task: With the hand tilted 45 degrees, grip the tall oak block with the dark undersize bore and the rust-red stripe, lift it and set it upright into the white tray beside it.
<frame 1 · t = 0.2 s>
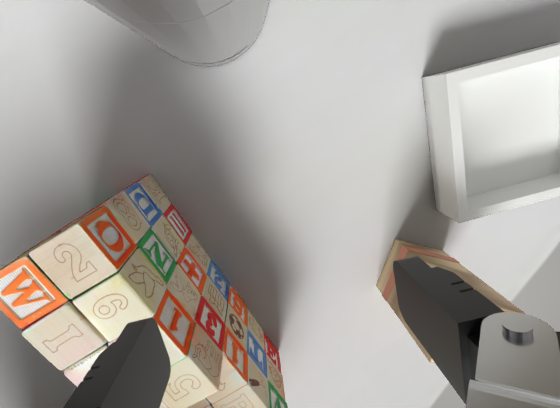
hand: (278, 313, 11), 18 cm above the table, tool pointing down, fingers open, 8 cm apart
oak block: (409, 268, 32), on the table
stack of blocks: (193, 285, 31), on the table
white tray: (494, 130, 29), on the table
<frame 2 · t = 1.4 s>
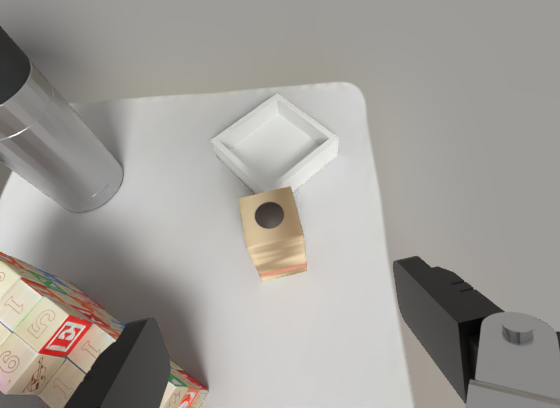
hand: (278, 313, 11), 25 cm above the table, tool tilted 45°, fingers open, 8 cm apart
oak block: (280, 255, 38), on the table
stack of blocks: (114, 357, 35), on the table
white tray: (276, 156, 45), on the table
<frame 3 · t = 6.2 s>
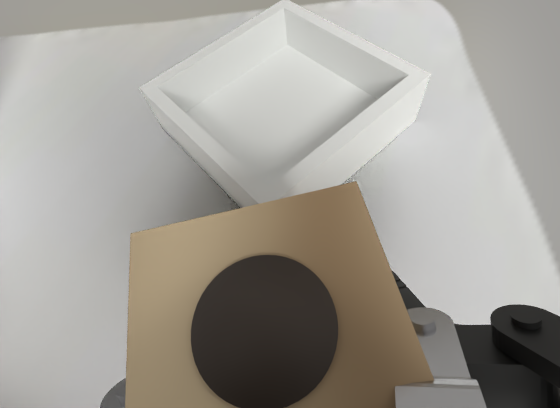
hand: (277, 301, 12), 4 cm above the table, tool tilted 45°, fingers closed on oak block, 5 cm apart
oak block: (298, 368, 15), on the table, touching gripper
white tray: (283, 125, 22), on the table
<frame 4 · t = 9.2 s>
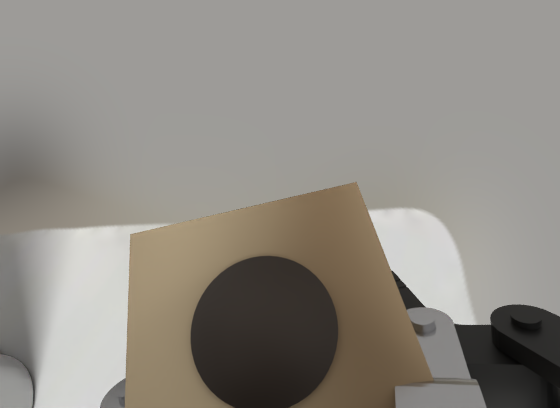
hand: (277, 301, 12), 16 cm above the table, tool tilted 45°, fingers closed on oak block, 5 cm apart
oak block: (298, 368, 15), point 12 cm above the table, touching gripper
when the fingers open (7 cm above the table, at t = 12.0 s): oak block drops 1 cm, resting on white tray.
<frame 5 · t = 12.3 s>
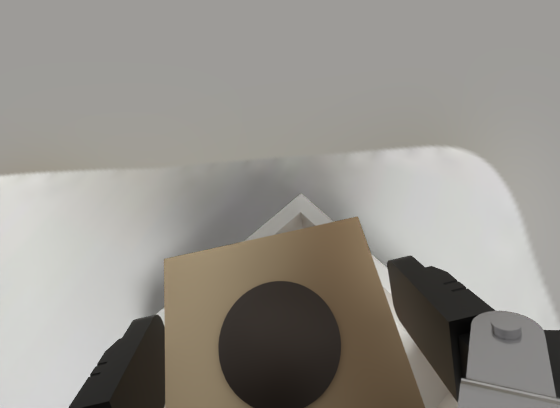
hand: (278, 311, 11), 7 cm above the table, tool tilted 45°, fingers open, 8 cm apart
oak block: (302, 372, 16), point 1 cm above the table, touching white tray
white tray: (300, 372, 17), on the table
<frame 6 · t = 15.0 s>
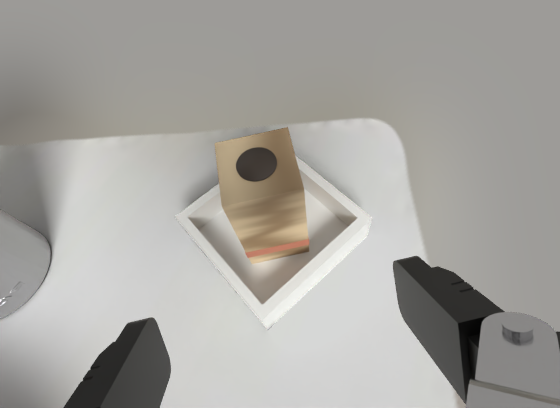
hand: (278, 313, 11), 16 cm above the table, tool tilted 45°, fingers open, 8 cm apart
oak block: (275, 231, 30), point 1 cm above the table, touching white tray
white tray: (274, 235, 31), on the table
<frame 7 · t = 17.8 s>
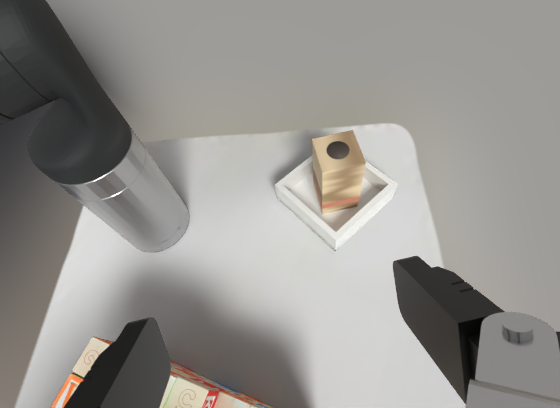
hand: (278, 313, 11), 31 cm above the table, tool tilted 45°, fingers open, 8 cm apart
oak block: (335, 195, 48), point 1 cm above the table, touching white tray
white tray: (333, 197, 48), on the table
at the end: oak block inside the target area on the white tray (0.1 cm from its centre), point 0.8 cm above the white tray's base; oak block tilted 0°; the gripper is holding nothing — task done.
